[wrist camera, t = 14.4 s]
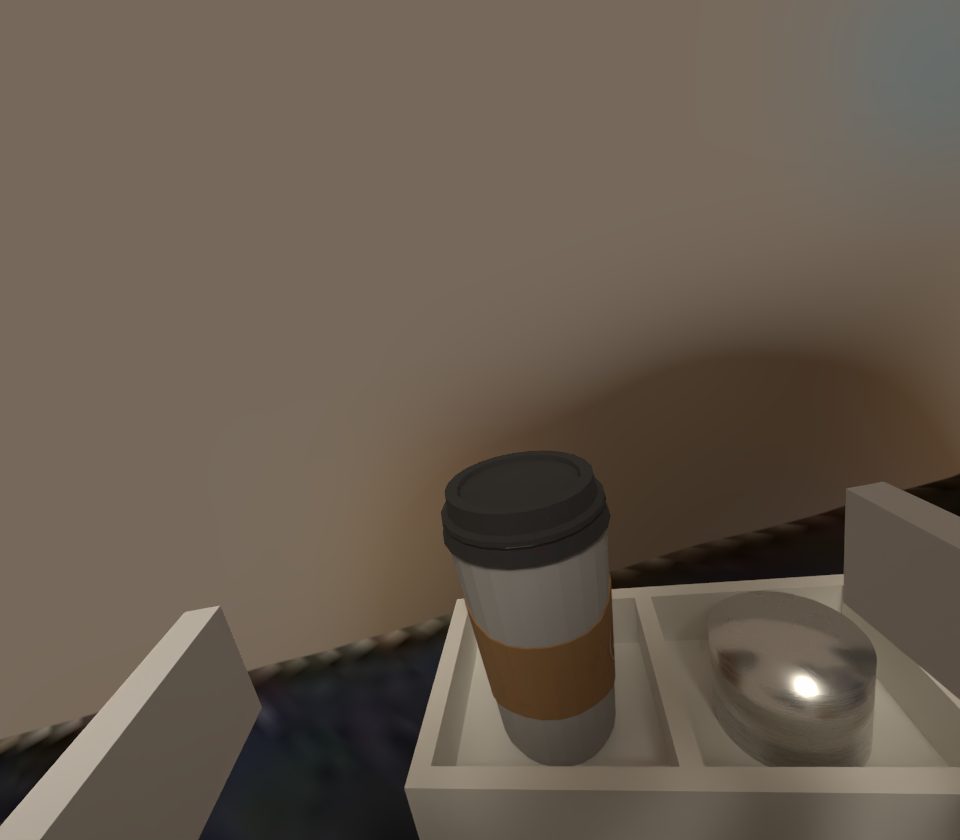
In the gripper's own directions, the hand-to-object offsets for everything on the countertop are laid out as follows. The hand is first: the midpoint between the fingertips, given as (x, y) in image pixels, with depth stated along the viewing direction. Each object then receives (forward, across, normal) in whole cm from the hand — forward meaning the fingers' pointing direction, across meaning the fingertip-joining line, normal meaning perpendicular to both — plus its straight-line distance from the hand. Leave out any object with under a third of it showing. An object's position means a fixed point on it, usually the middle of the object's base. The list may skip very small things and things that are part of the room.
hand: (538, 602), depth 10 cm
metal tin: (+11, +12, -18) cm, 24 cm away
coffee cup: (+13, 0, -18) cm, 22 cm away
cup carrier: (+12, +6, -19) cm, 23 cm away
